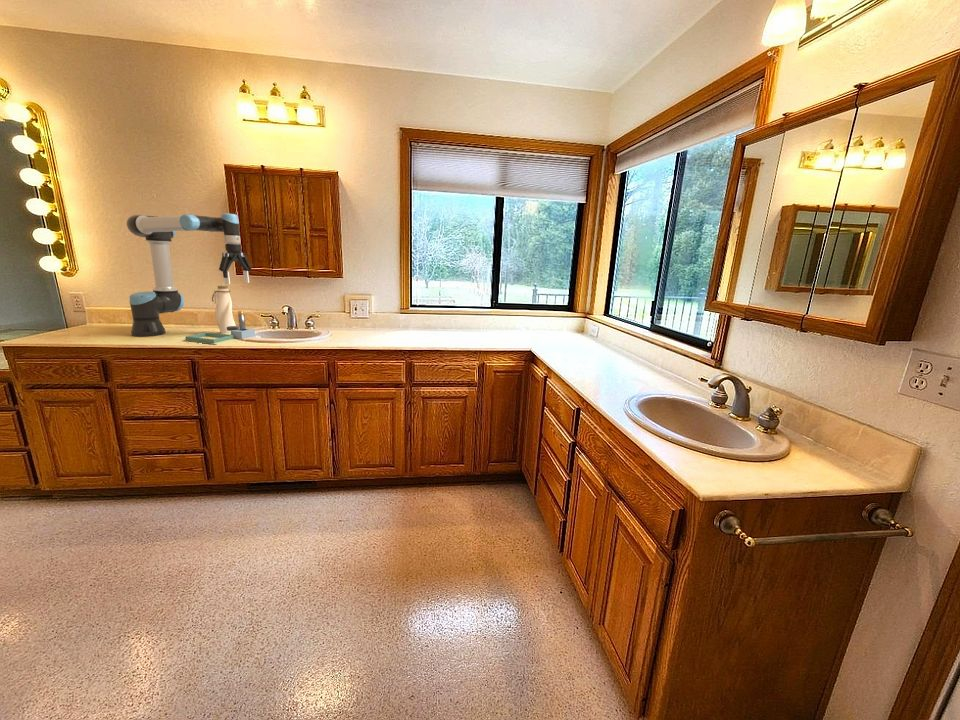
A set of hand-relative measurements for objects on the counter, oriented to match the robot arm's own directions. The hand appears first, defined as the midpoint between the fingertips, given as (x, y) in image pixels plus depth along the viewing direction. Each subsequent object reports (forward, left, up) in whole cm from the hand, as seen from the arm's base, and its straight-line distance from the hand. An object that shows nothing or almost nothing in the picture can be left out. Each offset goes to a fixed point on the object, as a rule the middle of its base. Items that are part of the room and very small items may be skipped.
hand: (237, 283), depth 226 cm
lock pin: (+3, -3, -30) cm, 30 cm away
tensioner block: (0, -3, -31) cm, 31 cm away
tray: (-7, -15, -31) cm, 35 cm away
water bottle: (-14, +3, -31) cm, 34 cm away
